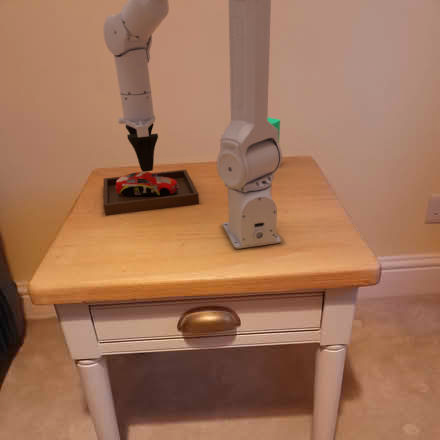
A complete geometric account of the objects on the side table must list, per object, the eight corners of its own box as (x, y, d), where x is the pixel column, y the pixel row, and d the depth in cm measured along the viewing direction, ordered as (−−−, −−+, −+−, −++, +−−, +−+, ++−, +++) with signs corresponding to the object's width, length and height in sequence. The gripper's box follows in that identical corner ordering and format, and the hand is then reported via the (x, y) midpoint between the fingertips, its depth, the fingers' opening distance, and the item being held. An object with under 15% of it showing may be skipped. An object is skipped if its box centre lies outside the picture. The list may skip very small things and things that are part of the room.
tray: (199, 203, 85) (198, 193, 84) (105, 215, 82) (103, 205, 81) (186, 178, 98) (186, 169, 97) (105, 187, 95) (103, 178, 94)
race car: (181, 188, 91) (179, 169, 89) (176, 197, 87) (174, 179, 85) (122, 187, 93) (119, 169, 91) (114, 196, 88) (111, 178, 86)
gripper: (113, 88, 84) (124, 156, 92) (114, 101, 72) (127, 178, 80) (148, 85, 85) (157, 153, 93) (155, 97, 73) (164, 174, 81)
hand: (145, 164), depth 86 cm, fingers open, 7 cm apart
